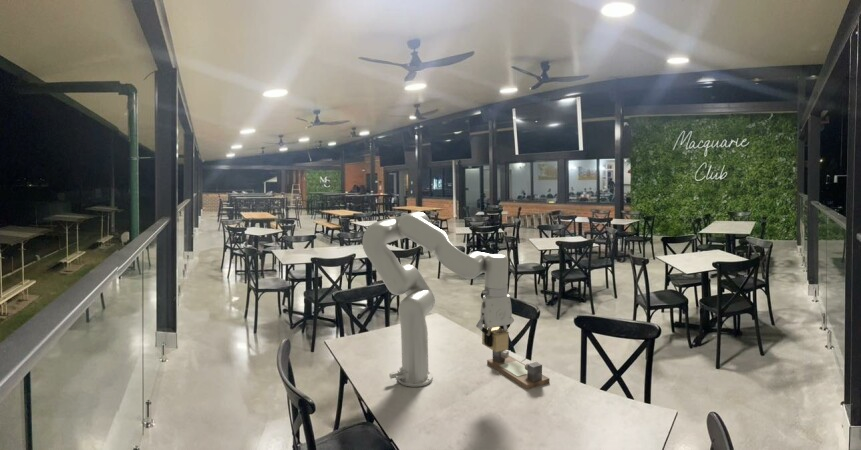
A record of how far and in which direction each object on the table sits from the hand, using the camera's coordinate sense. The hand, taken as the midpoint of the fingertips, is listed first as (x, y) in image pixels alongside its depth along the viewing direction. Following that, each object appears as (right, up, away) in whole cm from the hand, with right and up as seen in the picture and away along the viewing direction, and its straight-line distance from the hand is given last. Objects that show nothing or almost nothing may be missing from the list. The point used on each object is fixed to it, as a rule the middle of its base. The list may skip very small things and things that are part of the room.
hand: (495, 343), depth 159 cm
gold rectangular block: (0, -1, 0) cm, 1 cm away
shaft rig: (+10, -15, +16) cm, 24 cm away
